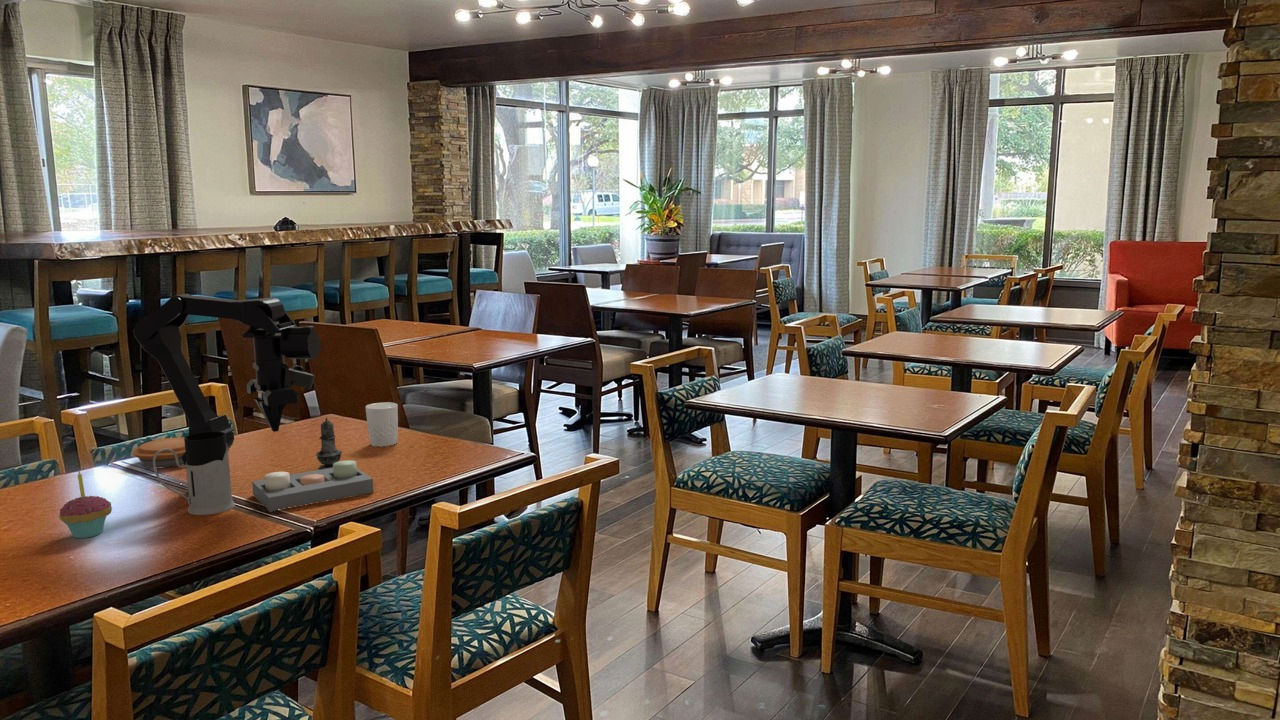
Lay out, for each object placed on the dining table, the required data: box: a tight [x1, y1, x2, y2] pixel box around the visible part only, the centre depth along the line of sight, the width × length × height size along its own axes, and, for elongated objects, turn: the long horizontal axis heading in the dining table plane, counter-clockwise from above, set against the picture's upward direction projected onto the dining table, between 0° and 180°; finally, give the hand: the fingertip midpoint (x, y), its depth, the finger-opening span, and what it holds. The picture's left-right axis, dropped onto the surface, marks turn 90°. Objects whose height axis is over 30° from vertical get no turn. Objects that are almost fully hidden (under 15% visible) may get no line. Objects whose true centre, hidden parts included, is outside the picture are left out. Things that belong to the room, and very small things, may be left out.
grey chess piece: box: [315, 417, 343, 470], centre depth 214 cm, size 6×6×12 cm
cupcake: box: [58, 469, 113, 539], centre depth 172 cm, size 9×8×12 cm
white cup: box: [365, 401, 399, 448], centre depth 236 cm, size 8×8×10 cm
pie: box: [132, 436, 185, 468], centre depth 222 cm, size 16×16×5 cm
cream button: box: [264, 471, 291, 492], centre depth 191 cm, size 5×5×3 cm
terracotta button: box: [300, 474, 325, 486], centre depth 195 cm, size 5×5×3 cm
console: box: [251, 468, 374, 513], centre depth 195 cm, size 21×14×3 cm, turn 125°
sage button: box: [333, 460, 358, 480], centre depth 199 cm, size 5×5×3 cm
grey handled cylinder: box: [153, 431, 236, 516], centre depth 184 cm, size 9×14×15 cm, turn 132°
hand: (275, 431), depth 196 cm, fingers closed
